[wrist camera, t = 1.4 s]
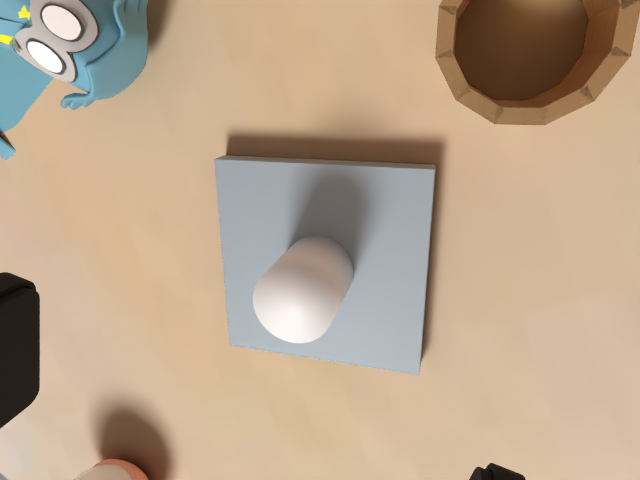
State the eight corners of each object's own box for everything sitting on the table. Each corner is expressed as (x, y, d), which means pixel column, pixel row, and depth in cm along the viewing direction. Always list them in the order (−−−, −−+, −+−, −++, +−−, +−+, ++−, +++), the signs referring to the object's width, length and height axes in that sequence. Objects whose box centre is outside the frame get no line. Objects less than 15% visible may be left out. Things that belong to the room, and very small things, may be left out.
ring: (617, -54, 21) (659, -87, 17) (587, 115, 24) (616, 127, 19) (447, -43, 23) (444, -70, 19) (436, 113, 26) (430, 122, 21)
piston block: (436, 164, 27) (428, 191, 21) (420, 361, 31) (411, 430, 25) (225, 155, 30) (167, 176, 24) (238, 334, 34) (192, 389, 29)
